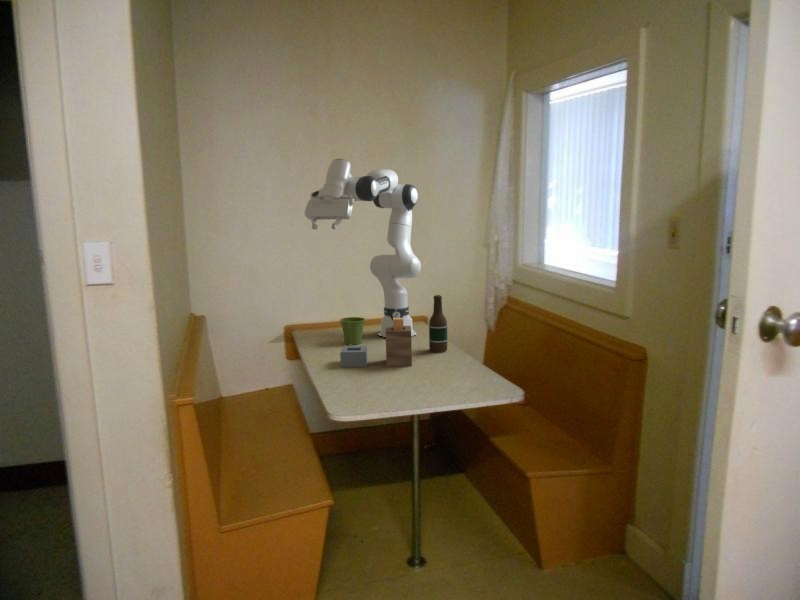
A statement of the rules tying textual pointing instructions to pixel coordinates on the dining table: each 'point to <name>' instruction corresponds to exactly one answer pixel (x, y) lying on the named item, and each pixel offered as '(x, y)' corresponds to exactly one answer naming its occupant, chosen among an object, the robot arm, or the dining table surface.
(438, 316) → the beer bottle
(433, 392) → the dining table surface
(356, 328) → the plant pot
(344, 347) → the low socket
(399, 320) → the peg
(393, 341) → the wood block with hole
